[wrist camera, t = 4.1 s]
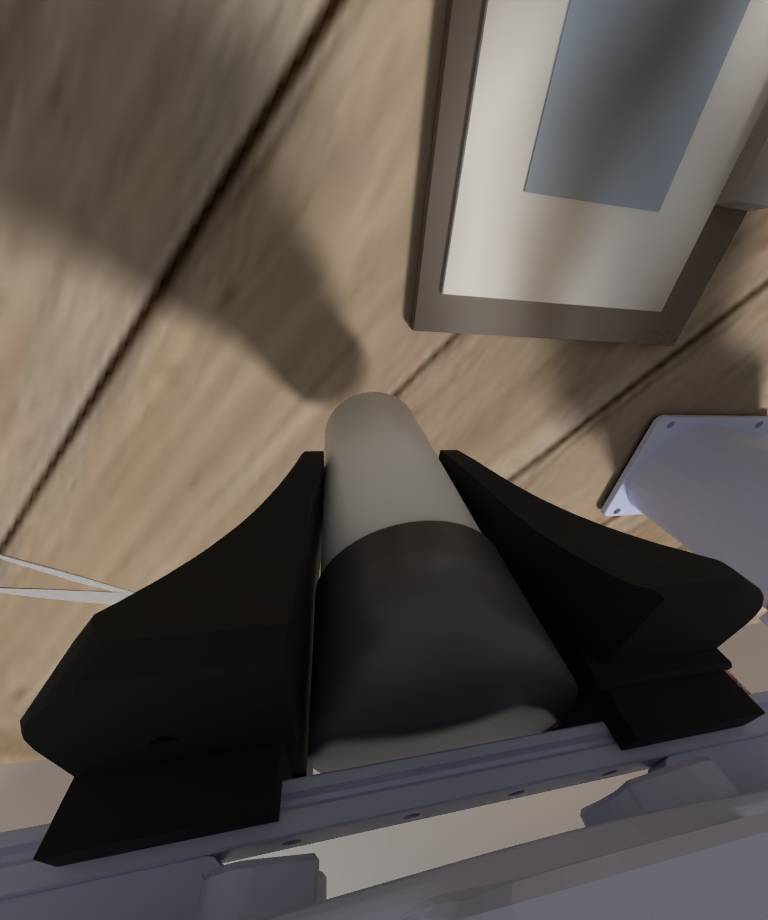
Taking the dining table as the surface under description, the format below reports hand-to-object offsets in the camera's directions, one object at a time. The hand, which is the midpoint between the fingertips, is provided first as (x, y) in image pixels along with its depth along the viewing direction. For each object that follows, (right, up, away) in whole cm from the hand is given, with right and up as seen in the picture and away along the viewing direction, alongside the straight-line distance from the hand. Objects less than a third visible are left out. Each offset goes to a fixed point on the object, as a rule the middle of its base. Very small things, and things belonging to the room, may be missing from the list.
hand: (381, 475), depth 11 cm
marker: (0, +2, +2) cm, 3 cm away
